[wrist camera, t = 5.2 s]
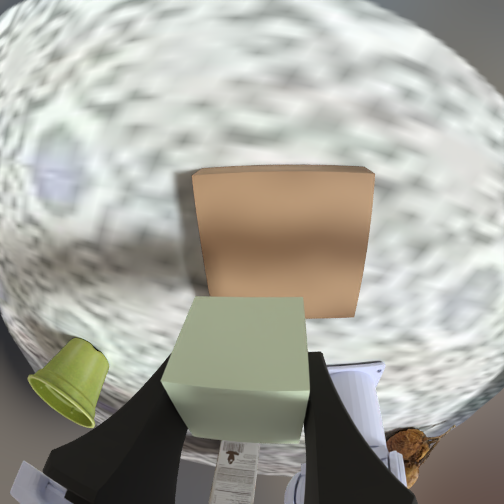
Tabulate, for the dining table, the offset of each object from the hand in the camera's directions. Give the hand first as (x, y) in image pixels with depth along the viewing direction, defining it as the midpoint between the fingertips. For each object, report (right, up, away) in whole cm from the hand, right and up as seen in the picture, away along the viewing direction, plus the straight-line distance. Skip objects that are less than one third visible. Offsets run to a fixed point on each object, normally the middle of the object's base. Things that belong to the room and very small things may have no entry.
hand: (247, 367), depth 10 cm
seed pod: (+26, -28, +23) cm, 44 cm away
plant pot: (-20, -8, +18) cm, 28 cm away
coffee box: (-2, -28, +26) cm, 39 cm away
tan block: (+2, +6, +8) cm, 10 cm away
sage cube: (0, +1, +2) cm, 2 cm away
